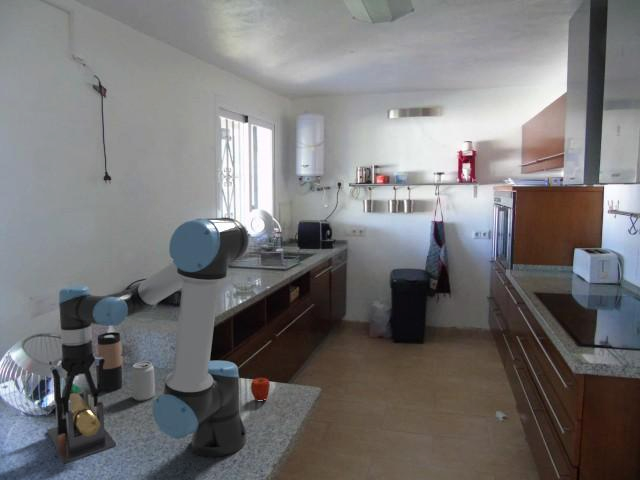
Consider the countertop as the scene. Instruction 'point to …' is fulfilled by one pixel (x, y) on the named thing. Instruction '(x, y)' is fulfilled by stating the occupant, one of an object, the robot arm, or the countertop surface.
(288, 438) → the countertop surface
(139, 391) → the can
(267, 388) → the apple
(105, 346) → the travel mug
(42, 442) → the countertop surface
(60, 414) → the dark grey pronged rack
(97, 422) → the tube
